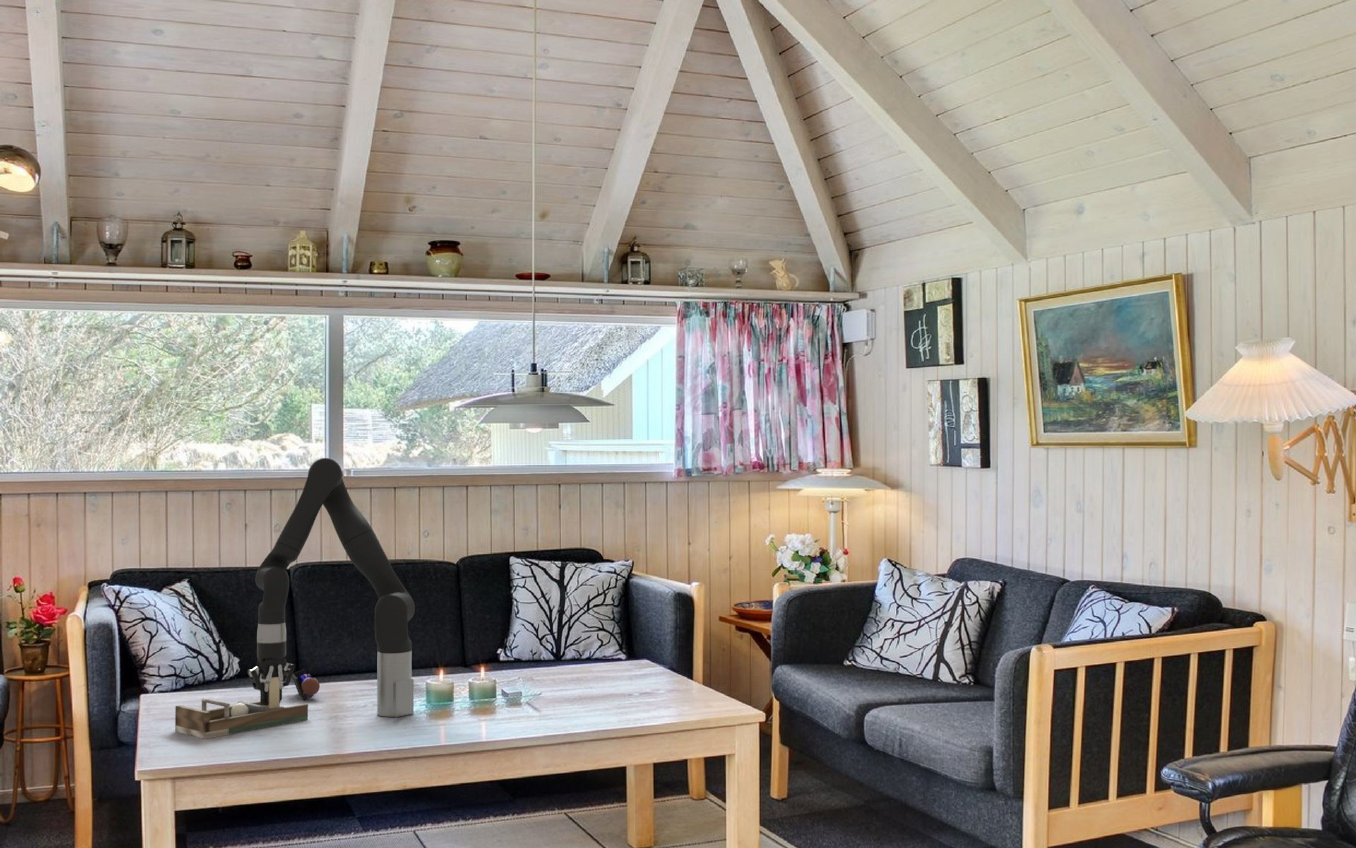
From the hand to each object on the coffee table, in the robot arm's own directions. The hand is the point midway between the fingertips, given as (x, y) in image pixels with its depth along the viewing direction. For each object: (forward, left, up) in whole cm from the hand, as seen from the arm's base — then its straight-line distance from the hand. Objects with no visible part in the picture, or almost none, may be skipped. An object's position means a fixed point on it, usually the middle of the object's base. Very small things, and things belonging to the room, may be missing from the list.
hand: (271, 703), depth 334 cm
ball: (0, +10, -1) cm, 10 cm away
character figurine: (+22, -25, -5) cm, 34 cm away
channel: (0, +9, -4) cm, 10 cm away
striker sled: (0, +2, -2) cm, 3 cm away
